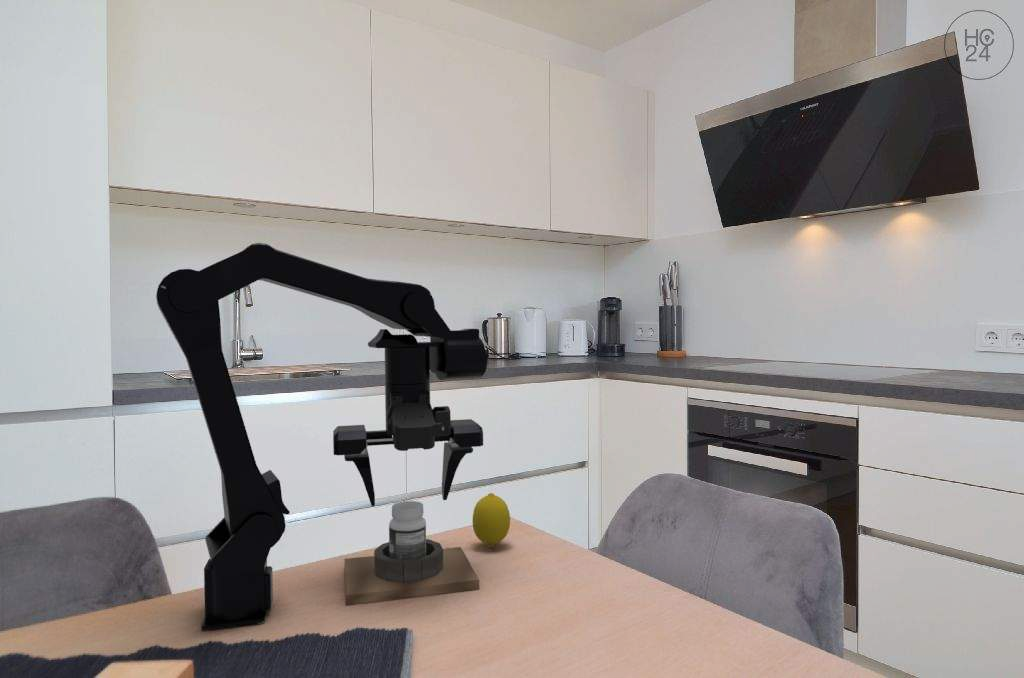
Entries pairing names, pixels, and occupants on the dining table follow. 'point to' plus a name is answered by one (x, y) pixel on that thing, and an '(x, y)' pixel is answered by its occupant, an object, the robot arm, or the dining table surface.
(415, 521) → the pill bottle
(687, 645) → the dining table surface
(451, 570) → the socket board
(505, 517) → the lemon
